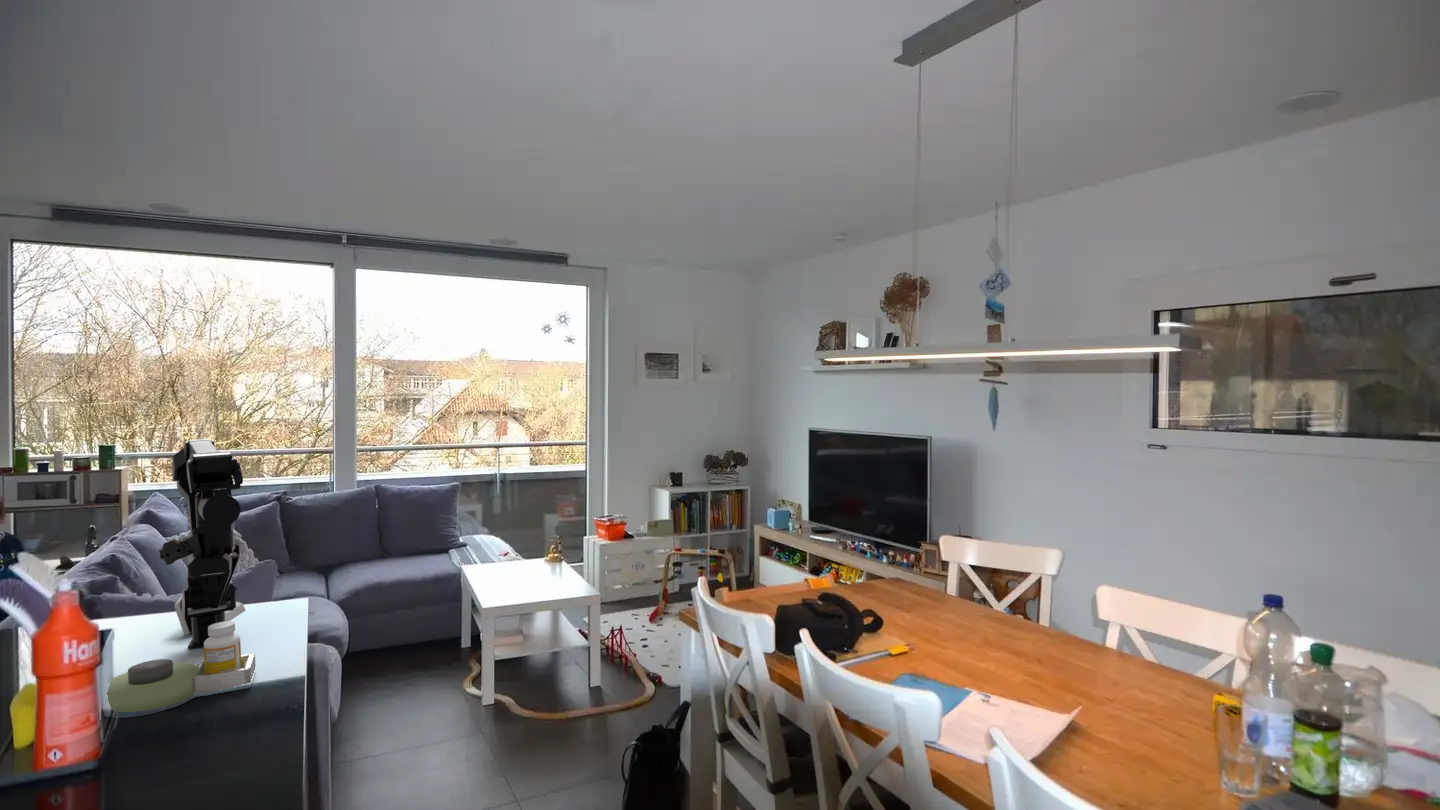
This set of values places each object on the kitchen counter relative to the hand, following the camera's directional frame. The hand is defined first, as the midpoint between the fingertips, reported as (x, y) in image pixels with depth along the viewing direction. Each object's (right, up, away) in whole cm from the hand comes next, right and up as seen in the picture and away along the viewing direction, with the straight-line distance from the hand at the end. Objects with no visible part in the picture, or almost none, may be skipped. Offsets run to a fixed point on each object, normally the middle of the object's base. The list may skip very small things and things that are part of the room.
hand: (218, 601), depth 142 cm
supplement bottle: (+7, -11, -9) cm, 16 cm away
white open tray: (+7, -12, -9) cm, 17 cm away
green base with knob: (-1, -13, -16) cm, 20 cm away
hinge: (-19, -12, +26) cm, 35 cm away
